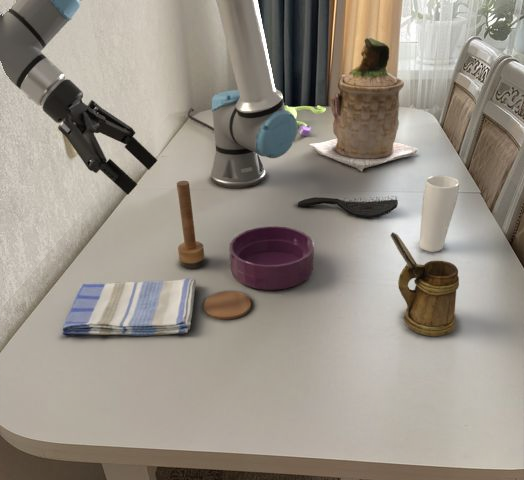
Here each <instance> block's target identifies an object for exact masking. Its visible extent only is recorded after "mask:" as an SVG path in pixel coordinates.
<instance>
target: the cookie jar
mask: <svg viewBox="0 0 524 480" xmlns="http://www.w3.org/2000/svg"><path fill="white" fill-rule="evenodd" d="M364 44H365V45H364V46H363V48H362V50H361V53H360V55H361V56H362V59H361V62H360V64H359V65H358V66H356V67H355V68H353V69H352V70H351V71H349V73H347V75H345V74H342V75H341V76H340V77H339V80H338V83H337V88H338V90H339V93H336V94H335V95H334V97H331V98H330V100H329V106H330V108H331V113H332V116H333V119H334V120H333V124H332V125H333V127H332V128H333V129H332V131H333V134H334V135H335V137H336V138H333V139H330V140H326V141H322V142H315V143H310V144H309V146H310V147H312V148H313V149H314V150H315V152H317V153H318V154H319V155H321V156H324V157H326V158H329V159H332V160H335V161H337V162H340V163H342V164H345V165H347V166H350V167H352V168H355V169H357V170H358V171H360V172H363V171H364V169H367V168H369V167H374V166H379V165H381V164H385V163H388V162H391V161H395V160H399V159H403V158H408V157H409V158H410V157H414V156H416V154H417V152H418V148H417V147H414V146H410V145H407V144H402V143H400V142H396V141H395V140H396V138H397V133H398V129H399V126H400V120H399V118H400V117H399V116H400V91H401V90H402V89H403V88H404V86H405V81H403V79H401V78H398V77H395V76H394V75H392V74H391V73H389V72H388V71H387V67H388V63H389V60H390V47H389V46H388V45H387V44H386V43H385V42H381V41H380V40H377V39H374V38H372V37H366V38H365V39H364Z"/></svg>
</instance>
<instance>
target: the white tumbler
mask: <svg viewBox="0 0 524 480" xmlns="http://www.w3.org/2000/svg"><path fill="white" fill-rule="evenodd" d="M459 189H460V181H459V180H458V179H456V177H455V178H454V177H452V176H448V175H434V176H433V175H432V176H430V177H427V179H426V180H425V185H424V188H423V195H422V204H421V219H420V232H419V240H418V246H419V247H420V249H422V250H423V251H426V252H430V253H436V252H439V251H442V250H443V249H444V246H445V243H446V238H447V234H448V231H449V228H450V225H451V221H452V218H453V214H454V211H455V208H456V204H457V200H458V196H459V195H458V194H459Z"/></svg>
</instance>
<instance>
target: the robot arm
mask: <svg viewBox="0 0 524 480" xmlns="http://www.w3.org/2000/svg"><path fill="white" fill-rule="evenodd" d="M81 1H82V0H16V3H15V4H14V5H13V6H12V8H11V9H9V11H7V12H6V13H5V14H4V13H2V14H3V16H2V14H1V15H0V61H1V63H2V66H3V69H4V71H5V73H6V75H7V76H8V77H9V79H10V80H11V81H10V80H9V79H8V80H9V81H10V82H11V83H13V85H15V86H16V87H17V88H18V89H19V90H21V92H23V93H24V94H25V95H26V97H27V99H29V100H32V101H33V103H35V104H36V105H37V106H39V107H41V106H42V111H43V112H44V113H45V114H46V115H47V116H48V117H50V118H51V120H53V122H55V124H56V123H57V124H59V125H58V127H57V129H58V130H59V132H60V133H61V134H62V135H63V136H64V137H65V138H66V139H67V140H68V142H69V143H70V145H71V146H72V147H73V149H74V151H75V152H76V154H77V155H78V156H79V158H80V159H81V161H82V162H83V164H84V165H85V166H86V168H87V169H88V170H89V171H90V172H93V173H94V174H97V173H98V172H99V171H101V173H103V174H104V176H106V177H107V178H108V179H110V180H111V181H112V182H113V183H114V184H115V185H116V186H117V187H118V188H120V190H122V192H124V193H125V194H126V195H127V196H129V195H130V193H132V191H133V190H134V189H135V188H136V187H137V186H138V183H137V182H136V181H135V180H134V179H132V178H131V176H129V175H128V174H127V173H126V172H125V171H124V170H123V169H122V168H121V167H120V166H119V165H117V164H116V163H115V162H114V161H113V160H112V159H111V158H108V159H107V158H106V155H105V154H104V151H103V149H102V148H101V145H100V143H99V142H98V139H97V137H96V135H95V134H102V135H104V136H106V137H108V138H111V139H113V140H114V141H117V142H119V143H121V144H124V148H125V149H126V151H128V152H129V153H130V154H131V155H132V156H133V157H134V158H135V159H136V160H137V161H138V162H139V163H141V165H142V166H143V167H144V168H146V169H147V171H150V170H151V169H152V167H154V165H155V164H156V163H157V162H158V159H157V158H156V157H155V156H154V155H153V154H152V153H151V152H150V151H149V150H148V149H146V147H145V146H144V145H143V144H142V143H140V142H139V141H138V140H137V139H136V138H135V137H134V136H135V135H136V131H135V130H134V128H133V127H132V126H130V125H128V124H127V123H125V122H124V121H122V120H121V119H119V118H118V117H116V116H115V115H113V114H112V113H110V112H108V111H107V110H106V109H104V108H102V107H101V106H100V105H99V104H98V103H97V102H96V101H94V100H93V99H91V100H90V101H89V102H88V103H87V104H86V103H85V102H83V98H84V92H83V91H82V90H81V89H80V88H79V87H78V86H77V85H76V84H75V83H74V82H73V81H72V80H71V79H68V78H66V75H65V73H64V72H63V71H62V70H61V69H60V68H59V67H57V66H56V65H55V64H54V63H53V61H51V60H50V59H49V58H48V57H47V56H45V55H44V54H43V52H42V51H43V50H44V49H45V48H46V47H47V45H48V44H49V43H50V42H51V41H52V40H53V38H55V37H56V35H57V34H59V32H60V31H61V30H62V29H63V28H64V27H65V26H66V24H67V23H68V22H69V21H71V20H73V19H72V18H73V17H74V15H75V13H77V11H78V10H79V8H80V6H81ZM215 1H216V5H217V9H218V13H219V18H220V21H221V25H222V26H221V27H222V30H223V33H224V38H225V42H226V47H227V50H228V54H229V58H230V62H231V66H232V70H233V75H234V79H235V83H236V87H237V89H232V90H227V91H222V92H218V93H216V94H215V95H214V96H213V97H212V99H211V113H212V121H213V122H212V123H213V126H211V125H209V124H207V123H205V122H203V121H201V120H199V119H197V118H195V117H193V116H191V113H192V112H195V109H194V108H193V107H191V108H190V109H189V110H188V112H187V117H188V118H189V119H191V120H193V121H194V122H196V123H198V124H200V125H203V126H204V127H206V128H208V129H210V130H211V131H213V133H214V144H215V155H214V159H213V164H212V168H211V172H210V174H211V175H210V176H211V181H212V183H214V184H215V185H217V186H219V187H223V188H226V189H227V188H228V189H242V188H244V189H245V188H251V187H253V186H256V185H259V184H261V183H262V182H264V181H265V179H266V170H265V166H264V164H263V161H262V158H261V157H263V158H265V157H266V158H269V159H276V158H277V159H278V158H280V157H282V156H283V155H285V154H286V153H288V151H289V150H290V149H291V147H292V146H293V143H294V142H295V140H296V137H297V134H298V125H297V122H296V121H297V118H296V119H295V117H294V115H293V114H291V112H289V111H288V110H287V111H286V110H285V101H284V96H283V92H282V91H280V90H279V89H277V88H276V87H275V83H274V77H273V72H272V67H271V63H270V58H269V52H268V48H267V41H266V37H265V31H264V27H263V21H262V17H261V12H260V7H259V1H258V0H215Z"/></svg>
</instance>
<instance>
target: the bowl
mask: <svg viewBox="0 0 524 480" xmlns="http://www.w3.org/2000/svg"><path fill="white" fill-rule="evenodd" d="M228 252H229V263H230V272H231V274H232V277H233V278H234V279H235V280H236V281H238V282H239V283H241V284H243V285H245V286H248V287H250V288H253V289H256V290H262V291H263V290H264V291H279V290H285V289H291V288H292V287H295V286H297V285H300V284H301V283H303V282H305V281H307V280H308V279H309V278H310V277H311V276H312V273H313V271H314V261H315V259H314V258H315V243H314V241H313V239H312V238H311V237H310V235H308V234H307V233H305V232H303V231H301V230H298V229H295V228H292V227H286V226H279V225H278V226H261V227H255V228H252V229H247V230H244V231H243V232H241V233H239V234H237V235H236V236H234V237H233V239H232V240H231V241H230V243H229V249H228Z"/></svg>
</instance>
